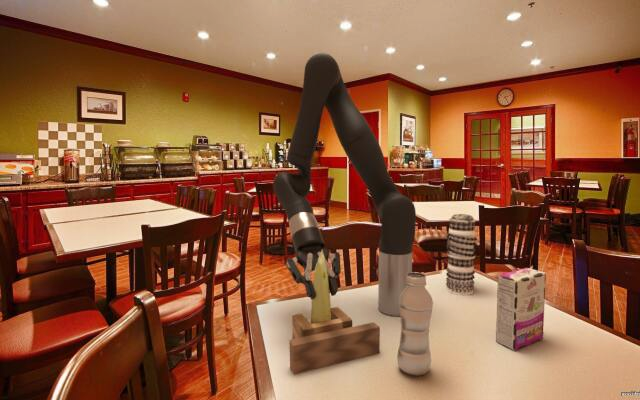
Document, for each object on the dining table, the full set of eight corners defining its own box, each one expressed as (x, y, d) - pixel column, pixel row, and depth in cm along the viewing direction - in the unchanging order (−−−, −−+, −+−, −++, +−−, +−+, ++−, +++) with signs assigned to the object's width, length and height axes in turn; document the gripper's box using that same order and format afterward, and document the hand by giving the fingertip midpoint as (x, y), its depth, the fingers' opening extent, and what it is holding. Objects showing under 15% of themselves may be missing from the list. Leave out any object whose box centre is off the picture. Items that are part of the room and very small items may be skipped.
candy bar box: (522, 330, 86) (526, 266, 84) (543, 339, 81) (547, 272, 79) (493, 341, 81) (496, 274, 79) (514, 352, 76) (518, 280, 74)
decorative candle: (439, 286, 116) (441, 213, 113) (462, 284, 118) (465, 212, 115) (455, 297, 107) (458, 218, 104) (481, 294, 109) (484, 216, 107)
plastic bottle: (392, 362, 73) (394, 270, 71) (423, 360, 73) (426, 269, 71) (402, 381, 66) (404, 281, 64) (436, 379, 67) (439, 279, 65)
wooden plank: (373, 347, 79) (373, 322, 78) (379, 352, 76) (379, 327, 76) (290, 367, 71) (289, 339, 71) (293, 374, 69) (293, 345, 68)
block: (337, 329, 87) (337, 306, 86) (352, 344, 80) (352, 320, 79) (292, 338, 83) (292, 315, 82) (303, 356, 75) (303, 329, 75)
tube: (337, 335, 80) (336, 254, 78) (319, 342, 78) (317, 258, 75) (324, 326, 85) (322, 249, 83) (306, 332, 82) (304, 253, 80)
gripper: (281, 227, 83) (297, 293, 73) (335, 223, 88) (357, 284, 78) (276, 244, 88) (291, 307, 79) (327, 239, 94) (347, 298, 84)
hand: (324, 295), depth 78 cm, fingers closed on tube, 4 cm apart
